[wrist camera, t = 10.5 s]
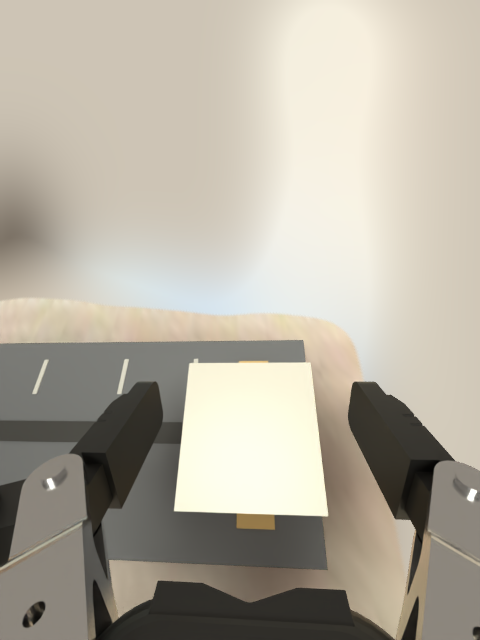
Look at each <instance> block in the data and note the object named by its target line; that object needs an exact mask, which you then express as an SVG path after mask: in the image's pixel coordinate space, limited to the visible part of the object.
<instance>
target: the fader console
mask: <svg viewBox="0 0 480 640" xmlns="http://www.w3.org/2000/svg"><path fill="white" fill-rule="evenodd" d="M303 362H305V353H304V343H303V340H284V341H195V342H105V343H16V344H0V485H4V484H8V483H12V482H16V481H20V480H24V479H27V477H28V476H29V475H30V474H31V473H32V472H33V471H34V470H35V469H36V468H38V467H39V466H40V465H42V464H43V463H45V462H47V461H48V460H50V459H52V458H55V457H57V456H60V455H64V454H69V452H70V451H71V450H72V449H73V448H74V446H75V445H76V444H77V443H78V442H79V440H80V439H81V438H82V437H83V436H84V435H85V433H86V432H87V431H88V430H89V429H90V427H91V426H92V425H93V424H94V423H95V422H97V419H98V418H99V417H100V416H101V414H104V411H105V410H106V408H107V407H108V406H109V405H110V404H111V403H112V402H113V401H114V400H115V399H117V398H118V397H120V396H121V395H123V394H128V392H129V391H130V390H131V389H132V387H133V386H134V385H135V384H136V382H138V381H156V382H157V383H158V386H159V391H160V397H161V403H162V408H163V421H162V425H161V428H160V430H159V432H158V434H157V436H156V438H155V440H154V443H153V445H152V447H151V449H150V451H149V453H148V455H147V457H146V459H145V461H144V463H143V465H142V468H141V470H140V472H139V474H138V476H137V478H136V480H135V482H134V484H133V486H132V488H131V490H130V493H129V495H128V497H127V499H126V501H125V503H124V505H123V507H122V509H109V508H108V510H107V512H106V513H105V515H104V517H103V519H102V520H103V524H104V530H105V538H106V545H107V553H108V560H128V561H149V562H171V563H192V564H213V565H234V566H256V567H277V568H298V569H319V570H328V569H327V559H326V550H325V540H324V531H323V522H322V516H303V515H273V514H243V513H214V512H184V511H174V506H175V496H176V486H177V477H178V467H179V458H180V448H181V438H182V429H183V419H184V410H185V400H186V390H187V381H188V371H189V363H303Z"/></svg>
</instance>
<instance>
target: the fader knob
mask: <svg viewBox="0 0 480 640" xmlns="http://www.w3.org/2000/svg"><path fill="white" fill-rule="evenodd" d="M174 511H184V512H214V513H243V514H273V515H303V516H328V509H327V500H326V492H325V483H324V474H323V466H322V457H321V448H320V440H319V431H318V422H317V414H316V405H315V396H314V388H313V379H312V371H311V362H303V363H189V371H188V381H187V390H186V400H185V410H184V419H183V429H182V438H181V448H180V458H179V467H178V477H177V486H176V496H175V506H174Z"/></svg>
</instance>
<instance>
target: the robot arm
mask: <svg viewBox="0 0 480 640" xmlns="http://www.w3.org/2000/svg"><path fill="white" fill-rule="evenodd" d="M348 420H349V425H350V428H351V431H352V433H353V435H354V437H355V439H356V441H357V443H358V445H359V447H360V449H361V451H362V453H363V455H364V457H365V459H366V461H367V463H368V465H369V467H370V469H371V471H372V473H373V475H374V477H375V479H376V481H377V483H378V485H379V487H380V489H381V491H382V493H383V495H384V497H385V499H386V501H387V503H388V505H389V507H390V509H391V512H392V514H393V516H394V518H395V519H402V520H403V519H404V520H411V522H412V524H413V525H414V527H415V529H416V530H415V533H414V537H413V543H412V550H411V556H410V563H409V569H408V576H407V582H406V589H405V595H404V602H403V607H402V612H401V616H400V620H399V625H398V629H397V634H396V640H480V471H479V470H477V469H475V468H473V467H471V466H468V465H466V464H463V463H460V462H456V461H455V460H454V459H453V458H452V457H451V456H450V455H449V453H448V452H447V451H446V450H445V449H444V448H443V447H442V445H441V444H440V443H439V442H438V441H437V440H436V439H435V438H434V437H433V435H432V434H431V433H430V432H429V431H428V430H427V429H426V427H425V426H422V423H421V422H420V421H419V420H418V418H417V417H414V414H413V413H412V412H411V411H410V409H409V408H408V407H407V406H406V405H405V404H404V403H402V402H401V401H400V400H398V399H396V398H395V397H393V396H392V395H386V394H385V393H384V392H383V390H382V389H381V388H380V387H379V385H378V384H377V383H376V382H354V383H353V385H352V390H351V397H350V404H349V412H348ZM162 421H163V408H162V403H161V397H160V391H159V386H158V383H157V382H156V381H138V382H136V384H135V385H134V386H133V387H132V389H131V390H130V391H129V392H128V394H123V395H121V396H120V397H118V398H117V399H115V400H114V401H113V402H112V403H111V404H110V405H109V406H108V407H107V408H106V410H105V411H104V414H101V416H100V417H99V418H98V419H97V422H95V423H94V424H93V425H92V426H91V427H90V429H89V430H88V431H87V432H86V433H85V435H84V436H83V437H82V438H81V439H80V440H79V442H78V443H77V444H76V445H75V446H74V448H73V449H72V450H71V451H70V452H69V454H64V455H60V456H57V457H55V458H52V459H50V460H48V461H47V462H45V463H43V464H42V465H40V466H39V467H38V468H36V469H35V470H34V471H33V472H32V473H31V474H30V475H29V476H28V477H27V479H24V480H20V481H16V482H12V483H8V484H4V485H0V640H395V639H393V638H392V637H391V636H390V635H389V634H388V633H387V632H385V631H384V630H383V629H382V628H380V627H379V626H378V625H376V624H375V623H373V622H372V621H371V620H369V619H367V618H365V617H364V616H362V615H360V614H359V613H357V612H354V611H352V610H350V607H349V603H348V599H347V595H346V591H345V590H329V589H310V588H296V589H293V590H289V591H286V592H283V593H280V594H277V595H274V596H271V597H268V598H265V599H262V600H259V601H256V602H251V603H249V602H244V601H242V600H240V599H237V598H235V597H233V596H231V595H228V594H226V593H224V592H222V591H219V590H217V589H215V588H213V587H210V586H208V585H206V584H204V583H193V582H173V581H158V583H157V586H156V590H155V593H154V597H153V599H152V600H149V601H146V602H144V603H142V604H140V605H138V606H136V607H134V608H133V609H131V610H130V611H128V612H127V613H125V614H123V615H122V616H121V617H120V618H119V617H118V612H117V607H116V603H115V599H114V594H113V589H112V583H111V576H110V568H109V560H108V553H107V545H106V538H105V530H104V524H103V520H102V519H103V517H104V515H105V513H106V512H107V510H108V508H109V509H122V507H123V505H124V503H125V501H126V499H127V497H128V495H129V493H130V490H131V488H132V486H133V484H134V482H135V480H136V478H137V476H138V474H139V472H140V470H141V468H142V465H143V463H144V461H145V459H146V457H147V455H148V453H149V451H150V449H151V447H152V445H153V443H154V440H155V438H156V436H157V434H158V432H159V430H160V428H161V425H162Z"/></svg>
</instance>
